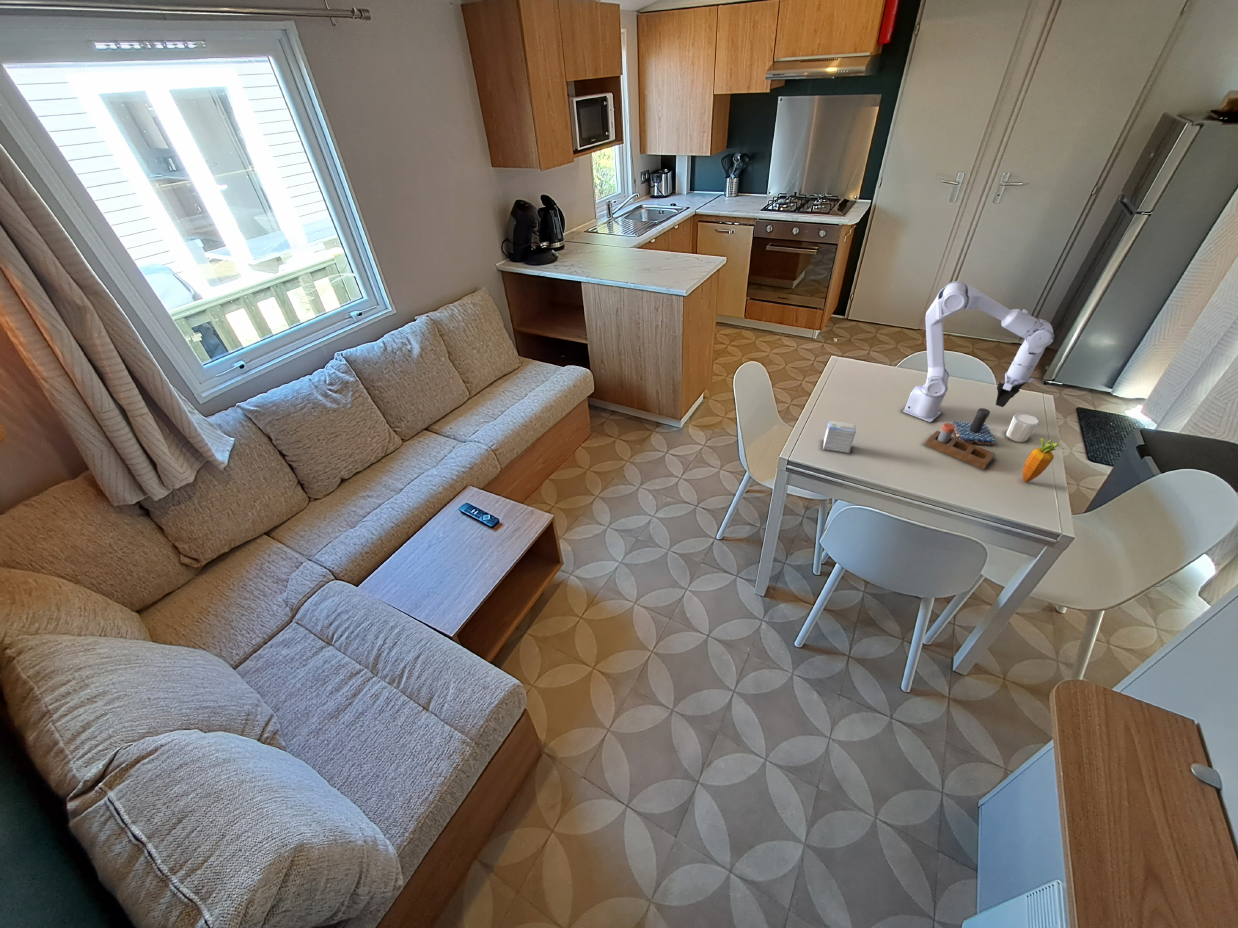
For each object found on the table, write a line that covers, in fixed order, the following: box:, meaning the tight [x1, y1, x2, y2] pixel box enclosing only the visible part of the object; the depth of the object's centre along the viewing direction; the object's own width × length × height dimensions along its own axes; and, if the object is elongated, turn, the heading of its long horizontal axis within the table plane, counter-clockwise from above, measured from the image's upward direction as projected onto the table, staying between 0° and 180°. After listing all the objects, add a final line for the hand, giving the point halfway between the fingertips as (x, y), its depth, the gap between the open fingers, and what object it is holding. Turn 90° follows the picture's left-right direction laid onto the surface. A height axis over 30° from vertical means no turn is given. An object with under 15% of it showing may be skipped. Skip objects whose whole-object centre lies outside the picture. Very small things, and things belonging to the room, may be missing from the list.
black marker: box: [969, 407, 991, 433], centre depth 156 cm, size 3×3×8 cm
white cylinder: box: [1005, 412, 1041, 443], centre depth 156 cm, size 7×7×7 cm
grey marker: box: [937, 422, 955, 444], centre depth 154 cm, size 3×3×8 cm
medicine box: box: [822, 420, 857, 454], centre depth 156 cm, size 8×4×9 cm, turn 71°
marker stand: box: [925, 430, 996, 470], centre depth 153 cm, size 17×7×2 cm, turn 41°
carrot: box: [1022, 438, 1060, 483], centre depth 137 cm, size 5×5×15 cm
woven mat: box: [951, 420, 996, 446], centre depth 159 cm, size 10×11×2 cm
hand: (1004, 401), depth 156 cm, fingers open, 7 cm apart
